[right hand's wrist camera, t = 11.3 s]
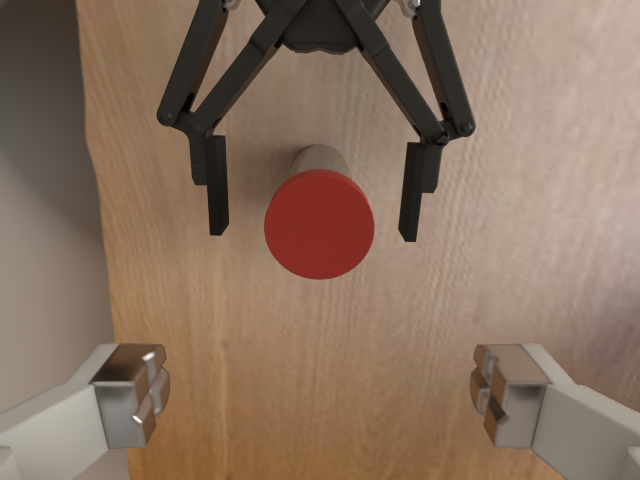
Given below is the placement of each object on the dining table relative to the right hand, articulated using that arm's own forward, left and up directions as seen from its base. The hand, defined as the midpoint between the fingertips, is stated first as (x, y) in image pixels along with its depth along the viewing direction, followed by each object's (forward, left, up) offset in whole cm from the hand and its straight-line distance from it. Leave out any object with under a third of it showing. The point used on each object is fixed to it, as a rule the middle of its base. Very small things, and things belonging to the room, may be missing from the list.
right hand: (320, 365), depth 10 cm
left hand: (-3, +2, -19) cm, 19 cm away
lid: (0, 0, -11) cm, 11 cm away
